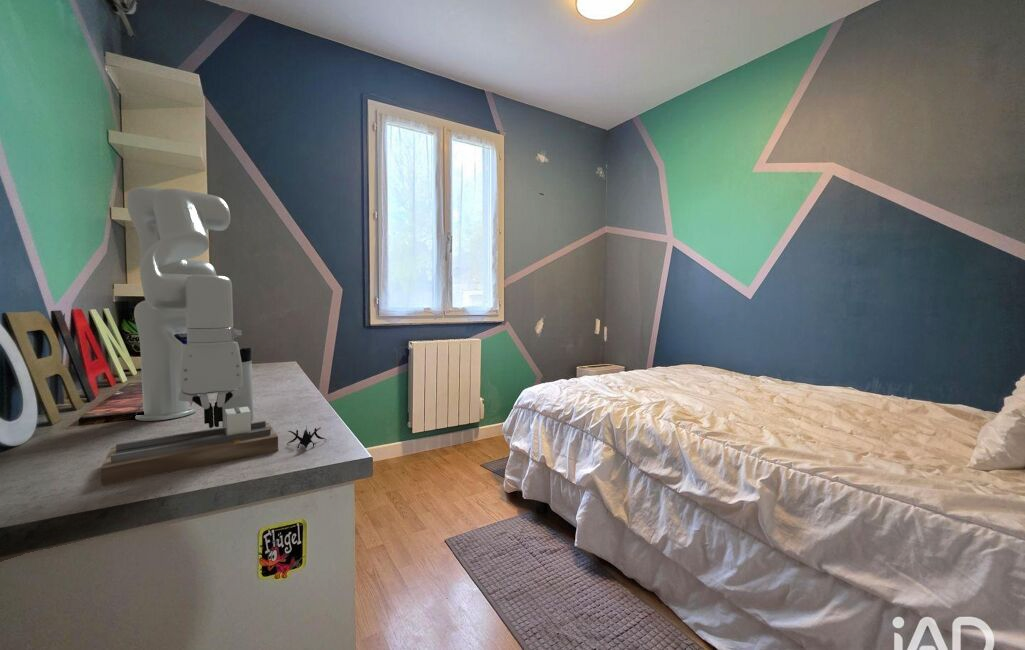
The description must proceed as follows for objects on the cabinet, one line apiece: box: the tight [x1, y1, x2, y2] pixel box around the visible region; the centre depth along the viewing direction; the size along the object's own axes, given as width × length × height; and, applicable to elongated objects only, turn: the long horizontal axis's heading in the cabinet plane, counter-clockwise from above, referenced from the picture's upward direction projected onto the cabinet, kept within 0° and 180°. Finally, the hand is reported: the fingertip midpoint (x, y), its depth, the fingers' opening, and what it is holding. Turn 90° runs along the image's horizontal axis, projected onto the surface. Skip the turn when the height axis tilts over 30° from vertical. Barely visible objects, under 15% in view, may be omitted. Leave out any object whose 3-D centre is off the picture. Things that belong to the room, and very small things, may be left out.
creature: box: [286, 426, 327, 449], centre depth 87 cm, size 8×5×8 cm
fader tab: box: [225, 407, 251, 435], centre depth 84 cm, size 5×4×5 cm
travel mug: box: [221, 347, 254, 428], centre depth 97 cm, size 6×7×20 cm
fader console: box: [100, 420, 279, 486], centre depth 80 cm, size 12×26×4 cm, turn 129°
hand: (213, 425), depth 81 cm, fingers closed
